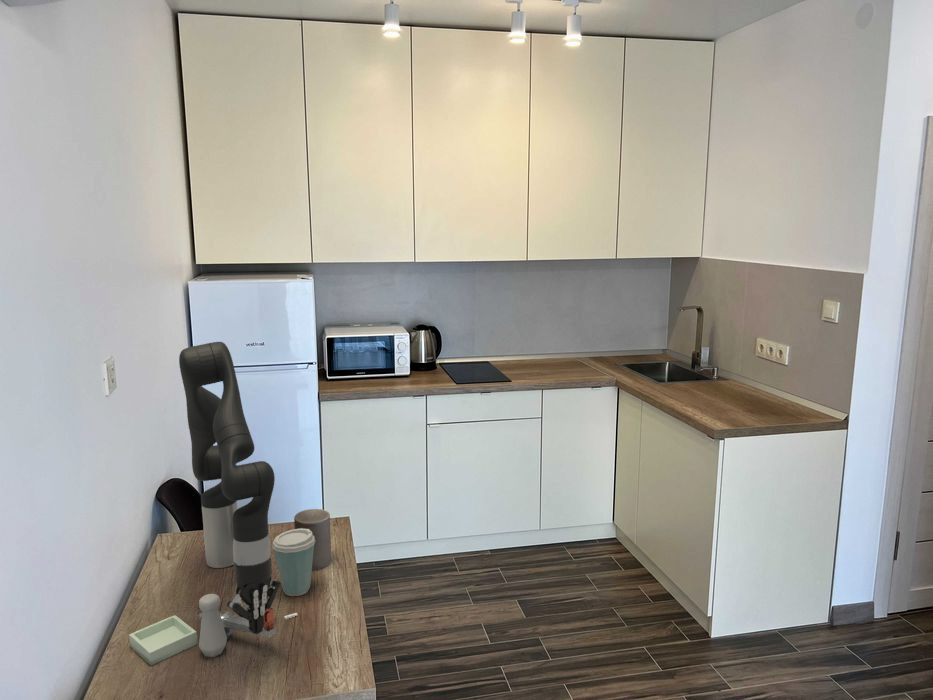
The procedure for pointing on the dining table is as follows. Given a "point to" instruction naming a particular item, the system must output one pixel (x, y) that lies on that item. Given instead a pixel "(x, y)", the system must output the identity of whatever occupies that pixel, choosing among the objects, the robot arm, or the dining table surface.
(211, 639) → the salt shaker
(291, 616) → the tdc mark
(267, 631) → the crank
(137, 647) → the tray
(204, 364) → the robot arm
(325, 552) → the pillar candle
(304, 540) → the disposable coffee cup
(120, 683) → the dining table surface
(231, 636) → the crank base
